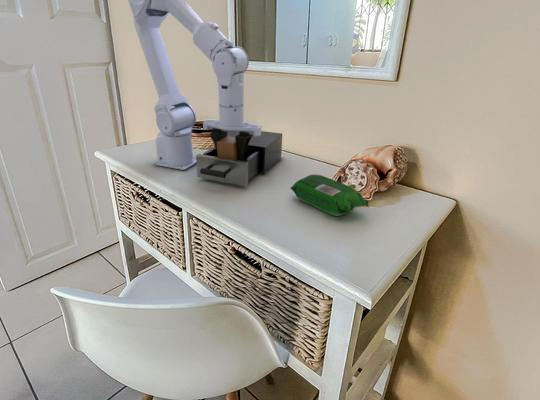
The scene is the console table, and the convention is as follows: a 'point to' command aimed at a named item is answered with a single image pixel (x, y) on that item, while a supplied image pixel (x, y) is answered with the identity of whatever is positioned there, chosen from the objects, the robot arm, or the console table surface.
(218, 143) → the tan upright block
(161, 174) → the console table surface
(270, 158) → the grey drawer cabinet
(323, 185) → the snack package
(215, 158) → the drawer
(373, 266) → the console table surface
